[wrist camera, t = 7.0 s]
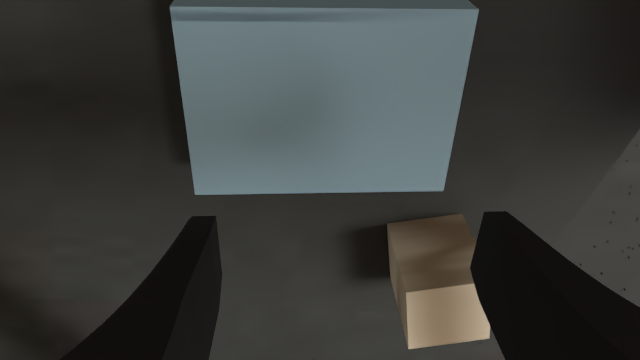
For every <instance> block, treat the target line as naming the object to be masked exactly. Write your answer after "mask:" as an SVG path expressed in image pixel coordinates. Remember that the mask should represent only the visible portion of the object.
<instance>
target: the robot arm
mask: <svg viewBox="0 0 640 360" xmlns="http://www.w3.org/2000/svg"><path fill="white" fill-rule="evenodd" d="M470 270H471V274H472V278H473V281H474V285H475V288H476V292H477V295H478V298H479V301H480V304H481V306H482V308H483V311H484V313H485V315H486V317H487V320H488V322H489V324H490V327H491V329H492V331H493V333H494V335H495V338H496V340H497V342H498V344H499V346H500V349H501V351H502V353H503V355H504V358H505V360H640V307H638V306H636V305H635V304H633V303H631V302H630V301H628V300H626V299H625V298H623V297H621V296H620V295H618V294H616V293H615V292H613V291H612V290H610V289H609V288H607V287H606V286H604V285H603V284H601V283H600V282H598V281H597V280H596V279H594V278H593V277H591V276H590V275H588V274H587V273H586V272H584V271H583V270H581V269H580V268H579V267H577V266H576V265H574V264H573V263H572V262H570V261H569V260H568V259H566V258H565V257H564V256H563V255H561V254H560V253H559V252H557V251H556V250H555V249H554V248H552V247H551V246H550V245H548V244H547V243H546V242H545V241H543V240H542V239H541V238H540V237H538V236H537V235H536V234H535V233H533V232H532V231H531V230H530V229H529V228H527V227H526V226H525V225H523V224H522V223H521V222H520V221H518V220H517V219H516V218H515V217H513V216H512V215H510V214H509V213H508V212H506V211H504V212H484V215H483V219H482V223H481V227H480V230H479V234H478V238H477V242H476V246H475V250H474V253H473V257H472V261H471V265H470ZM221 281H222V269H221V259H220V250H219V241H218V232H217V222H216V216H194V217H191V218H190V219H189V220H188V222H187V223H186V225H185V226H184V228H183V229H182V231H181V232H180V234H179V235H178V237H177V238H176V240H175V241H174V242H173V244H172V245H171V247H170V248H169V249H168V251H167V252H166V253H165V255H164V256H163V257H162V259H161V260H160V261H159V262H158V264H157V265H156V266H155V268H154V269H153V270H152V271H151V273H150V274H149V275H148V276H147V277H146V279H145V280H144V281H143V282H142V283H141V284H140V285H139V287H138V288H137V289H136V290H135V291H134V292H133V293H132V295H131V296H130V297H129V298H128V299H127V300H126V301H125V302H124V303H123V304H122V305H121V306H120V307H119V308H118V309H117V310H116V311H115V312H114V313H113V314H112V315H111V316H110V317H109V318H108V319H107V320H106V321H105V322H104V323H103V324H102V325H101V326H99V327H98V328H97V329H96V330H95V331H94V332H93V333H91V334H90V335H89V336H88V337H87V338H86V339H85V340H83V341H82V342H81V343H80V344H79V345H77V346H76V347H75V348H74V349H73V350H71V351H70V352H69V353H68V354H66V355H65V356H64V357H62V358H61V359H60V360H208V359H209V355H210V350H211V345H212V340H213V336H214V331H215V326H216V321H217V316H218V311H219V304H220V293H221Z"/></svg>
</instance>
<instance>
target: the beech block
mask: <svg viewBox="0 0 640 360" xmlns="http://www.w3.org/2000/svg"><path fill="white" fill-rule="evenodd" d="M387 233H388V248H389V263H390V278H391V282H392V286H393V290H394V294H395V298H396V302H397V306H398V310H399V314H400V318H401V322H402V326H403V330H404V334H405V338H406V342H407V346H408V349H414V348H421V347H429V346H436V345H444V344H451V343H459V342H466V341H474V340H481V339H489V334H490V324H489V322H488V320H487V317H486V315H485V313H484V311H483V308H482V306H481V304H480V301H479V298H478V295H477V292H476V288H475V285H474V281H473V278H472V274H471V270H470V265H471V261H472V257H473V253H474V250H475V246H476V241H475V239H474V237H473V235H472V233H471V231H470V229H469V227H468V225H467V223H466V221H465V219H464V217H463V215H462V213H461V214H453V215H446V216H439V217H432V218H424V219H417V220H410V221H403V222H395V223H388V224H387Z"/></svg>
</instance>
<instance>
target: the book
mask: <svg viewBox="0 0 640 360" xmlns="http://www.w3.org/2000/svg"><path fill="white" fill-rule="evenodd" d="M478 12H479V9H478V8H477V7H476V6H474V5H473V4H472V3H471V2H470V1H468V0H174V1H173V2H172V4H171V5H170V14H171V21H172V28H173V36H174V43H175V50H176V58H177V65H178V73H179V80H180V87H181V95H182V102H183V109H184V117H185V124H186V131H187V139H188V146H189V154H190V161H191V168H192V176H193V183H194V190H195V195H221V194H284V193H348V192H412V191H443V190H444V185H445V180H446V175H447V170H448V165H449V160H450V155H451V150H452V145H453V140H454V134H455V129H456V124H457V119H458V114H459V109H460V104H461V99H462V94H463V89H464V83H465V78H466V73H467V68H468V63H469V58H470V53H471V48H472V43H473V38H474V33H475V27H476V22H477V17H478Z"/></svg>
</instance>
